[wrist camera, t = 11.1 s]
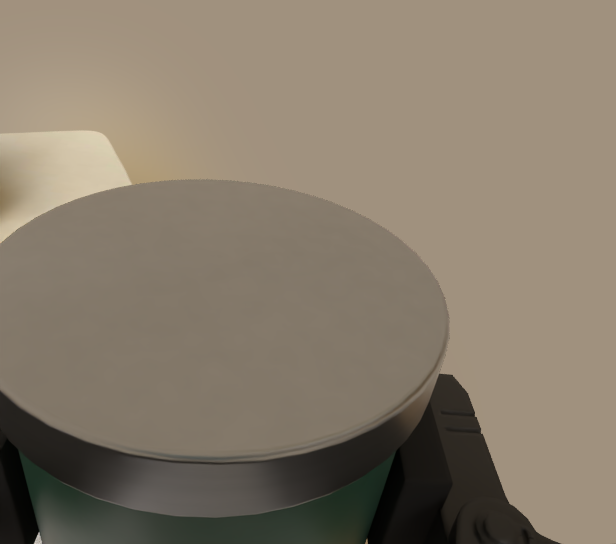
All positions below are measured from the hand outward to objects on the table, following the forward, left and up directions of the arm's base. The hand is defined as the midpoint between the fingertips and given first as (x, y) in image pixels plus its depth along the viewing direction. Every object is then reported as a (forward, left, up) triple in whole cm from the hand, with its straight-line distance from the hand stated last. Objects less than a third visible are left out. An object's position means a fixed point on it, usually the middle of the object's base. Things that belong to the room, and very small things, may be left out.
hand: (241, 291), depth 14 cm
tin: (-4, +3, -6) cm, 8 cm away
